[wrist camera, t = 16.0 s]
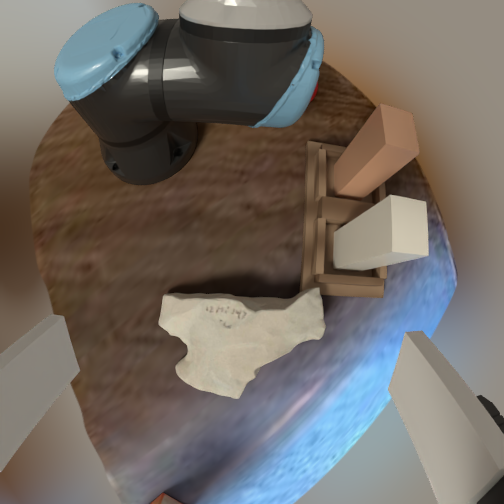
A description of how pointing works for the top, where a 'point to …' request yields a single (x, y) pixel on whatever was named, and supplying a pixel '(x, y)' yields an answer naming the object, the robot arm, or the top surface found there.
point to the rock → (237, 334)
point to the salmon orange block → (376, 152)
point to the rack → (332, 229)
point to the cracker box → (165, 500)
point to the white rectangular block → (383, 235)
